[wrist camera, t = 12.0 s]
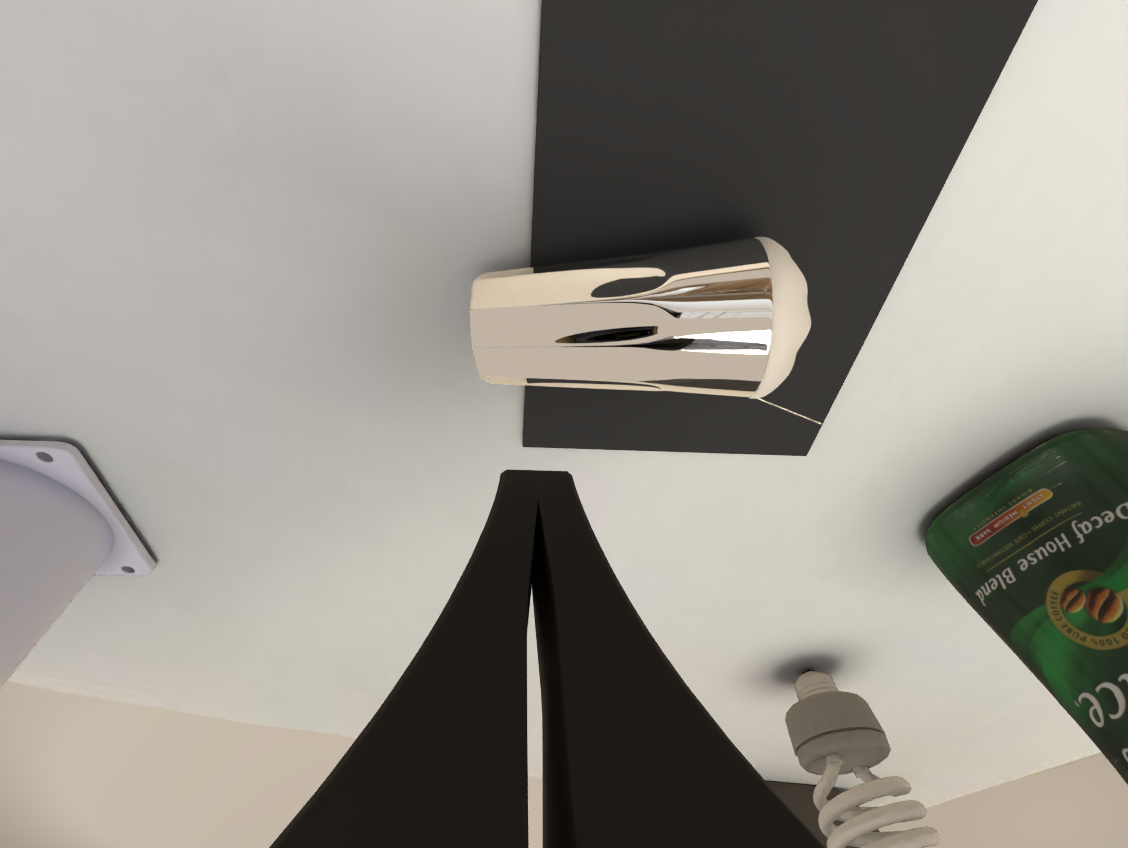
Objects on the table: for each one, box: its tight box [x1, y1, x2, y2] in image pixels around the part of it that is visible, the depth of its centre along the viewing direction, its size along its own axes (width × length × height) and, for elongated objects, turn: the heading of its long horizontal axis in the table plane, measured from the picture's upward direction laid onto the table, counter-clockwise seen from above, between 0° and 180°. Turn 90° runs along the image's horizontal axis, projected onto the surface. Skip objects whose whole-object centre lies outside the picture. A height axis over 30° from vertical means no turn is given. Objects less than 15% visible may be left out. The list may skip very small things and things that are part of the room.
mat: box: [523, 0, 1038, 456], centre depth 15 cm, size 12×19×1 cm, turn 175°
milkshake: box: [469, 237, 822, 425], centre depth 15 cm, size 4×5×10 cm
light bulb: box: [785, 669, 940, 848], centre depth 29 cm, size 6×6×12 cm
